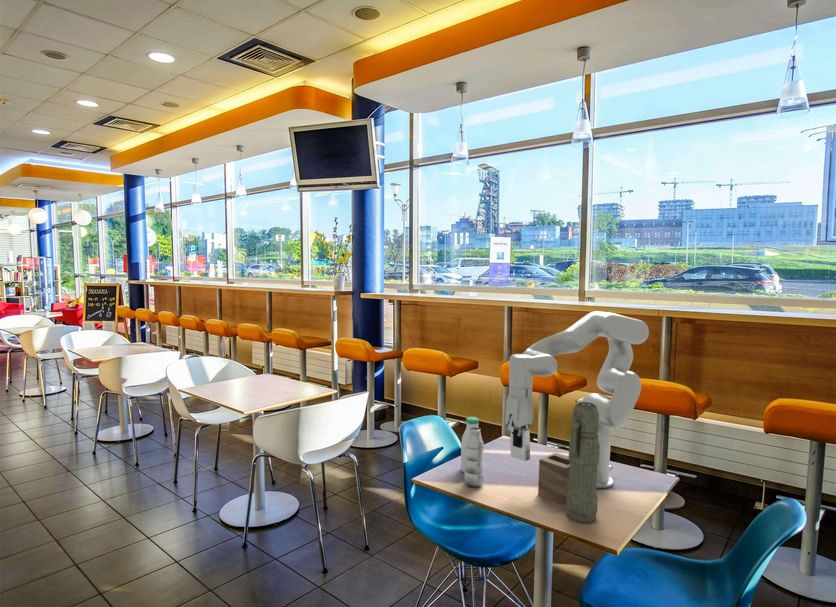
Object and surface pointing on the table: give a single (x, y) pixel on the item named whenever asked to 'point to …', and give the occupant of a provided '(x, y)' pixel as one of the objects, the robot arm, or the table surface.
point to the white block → (524, 451)
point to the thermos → (583, 464)
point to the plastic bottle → (474, 458)
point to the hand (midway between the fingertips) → (519, 445)
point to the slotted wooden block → (554, 477)
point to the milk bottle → (470, 423)
